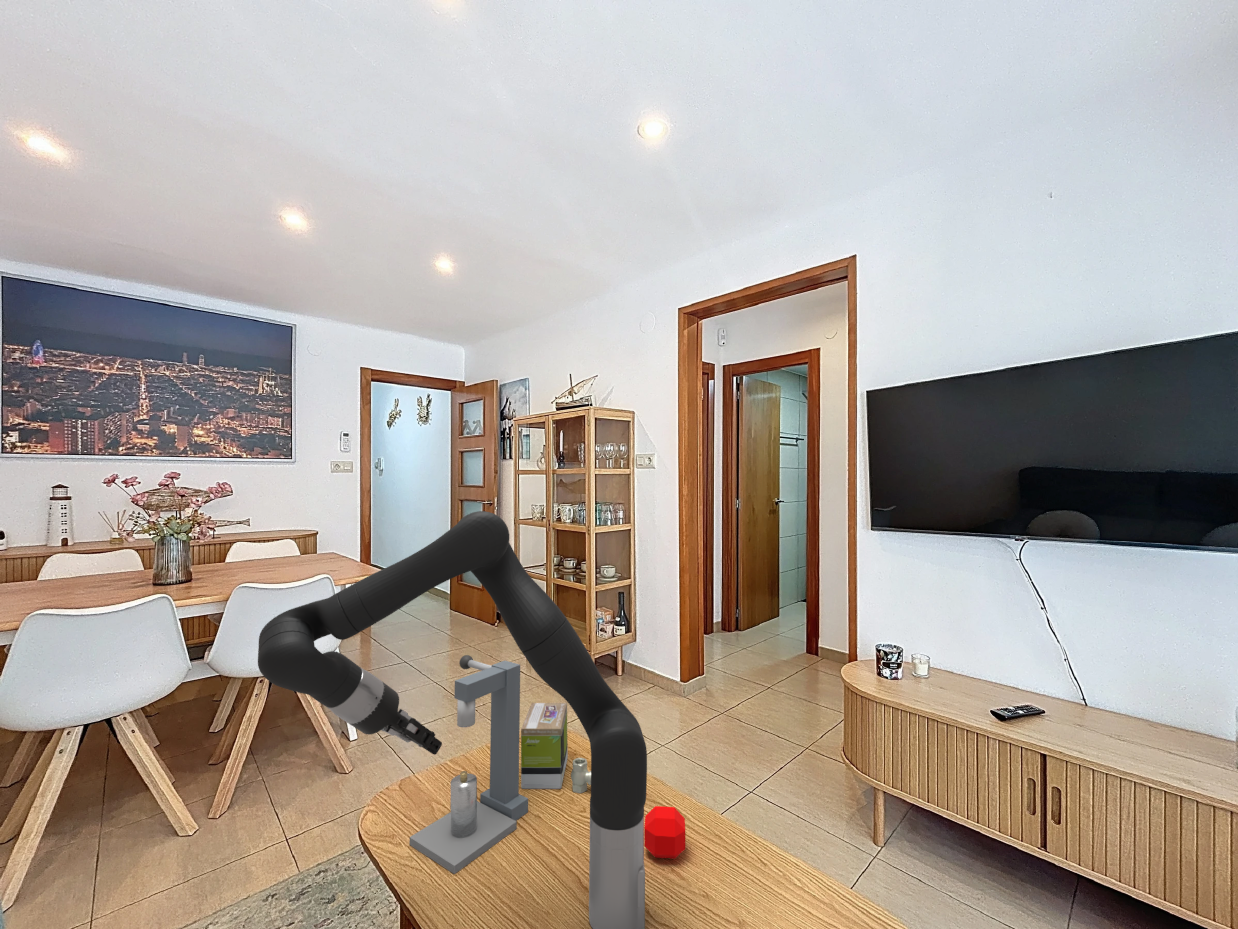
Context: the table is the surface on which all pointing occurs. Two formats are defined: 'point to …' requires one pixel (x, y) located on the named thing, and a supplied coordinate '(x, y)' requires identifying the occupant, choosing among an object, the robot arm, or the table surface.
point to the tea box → (544, 746)
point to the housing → (463, 805)
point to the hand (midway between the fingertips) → (423, 742)
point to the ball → (664, 832)
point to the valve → (580, 775)
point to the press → (503, 795)
